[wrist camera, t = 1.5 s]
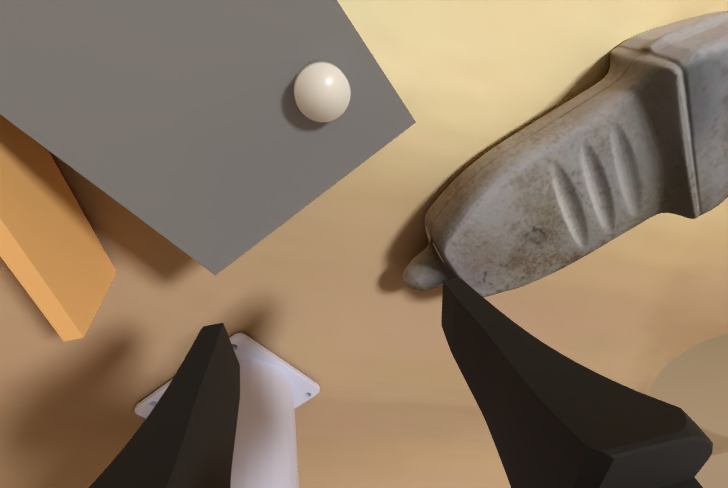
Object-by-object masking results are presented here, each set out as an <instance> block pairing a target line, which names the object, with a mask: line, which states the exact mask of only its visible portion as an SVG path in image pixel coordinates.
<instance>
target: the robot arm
mask: <svg viewBox="0 0 728 488" xmlns="http://www.w3.org/2000/svg"><path fill="white" fill-rule="evenodd" d="M442 328H443V331H444V333H445V336H446V339H447V342H448V344H449V347H450V350H451V352H452V354H453V356H454V358H455V360H456V362H457V364H458V366H459V368H460V370H461V372H462V374H463V376H464V378H465V380H466V382H467V384H468V386H469V388H470V390H471V392H472V394H473V396H474V398H475V400H476V402H477V404H478V406H479V408H480V410H481V412H482V414H483V416H484V418H485V420H486V423H487V425H488V428H489V430H490V433H491V435H492V438H493V440H494V443H495V445H496V448H497V450H498V453H499V456H500V458H501V461H502V464H503V466H504V469H505V472H506V474H507V477H508V480H509V483H510V485H511V488H703V487H702V486H701V485H700V484H699V483H698V481H697V480H696V479H695V478H694V477H695V475H696V474H697V473H698V472H699V470H700V469H701V468H702V466H703V465H704V464H705V463H706V461H707V460H708V459H709V457H710V455H711V454H712V447H713V443H712V442H711V440H710V439H709V438H708V437H707V436H706V435H705V433H704V432H703V431H702V430H701V429H700V428H699V427H698V426H697V424H696V423H695V422H694V421H692V419H691V418H690V417H689V416H688V415H687V414H686V413H685V412H684V411H683V410H682V409H681V408H679V407H676V406H674V405H671V404H668V403H666V402H663V401H661V400H658V399H655V398H653V397H650V396H647V395H645V394H642V393H640V392H637V391H635V390H633V389H630V388H628V387H626V386H624V385H621V384H619V383H617V382H614V381H612V380H610V379H608V378H606V377H604V376H602V375H600V374H598V373H596V372H594V371H592V370H590V369H588V368H586V367H584V366H582V365H580V364H578V363H576V362H575V361H573V360H571V359H569V358H567V357H566V356H564V355H562V354H561V353H559V352H557V351H556V350H554V349H552V348H551V347H549V346H547V345H546V344H544V343H543V342H541V341H540V340H538V339H537V338H535V337H534V336H532V335H531V334H529V333H528V332H527V331H525V330H524V329H522V328H521V327H520V326H518V325H517V324H516V323H514V322H513V321H512V320H510V319H509V318H508V317H507V316H505V315H504V314H503V313H502V312H500V311H499V310H498V309H497V308H495V307H494V306H493V305H492V304H490V303H489V302H488V301H487V300H486V299H485V298H483V297H482V296H481V295H480V294H479V293H478V292H476V291H475V290H474V289H473V288H472V287H471V286H470V285H468V284H467V283H466V282H465V281H464V280H462V279H461V278H459V279H454V280H449V281H443V299H442ZM232 344H235V346H232ZM319 391H320V388H319V385H318V384H317V383H316V382H314V381H313V380H311V379H310V378H308V377H307V376H306V375H304V374H303V373H301V372H300V371H298V370H297V369H295V368H294V367H292V366H291V365H289V364H288V363H286V362H285V361H284V360H282V359H281V358H279V357H278V356H276V355H275V354H273V353H272V352H270V351H269V350H267V349H266V348H264V347H263V346H262V345H260V344H259V343H257V342H256V341H254V340H253V339H251V338H250V337H248V336H247V335H245V334H243V333H237V334H235V335H233V336H231V337H230V338H229V337H228V334H227V332H226V329H225V327H224V324H223V323H220V324H215V325H210V326H204V327H203V328H202V329H201V331H200V332H199V334H198V336H197V338H196V340H195V341H194V343H193V345H192V347H191V349H190V350H189V352H188V354H187V356H186V357H185V359H184V361H183V363H182V364H181V366H180V368H179V369H178V371H177V373H176V374H175V376H174V378H173V379H171V380H170V381H169V382H167V383H166V384H164V385H163V386H162V387H160V388H159V389H157V390H156V391H155V392H153V393H152V394H150V395H149V396H148V397H146V398H145V399H144V400H142V401H141V402H139V403H138V404H137V405H136V407H135V411H134V412H135V413H136V414H137V415H139V416H141V417H143V418H146V419H145V421H144V422H143V424H142V425H141V426H140V428H139V429H138V430H137V432H136V433H135V434H134V436H133V437H132V438H131V439H130V441H129V442H128V443H127V445H126V446H125V447H124V448H123V449H122V451H121V452H120V453H119V454H118V455H117V457H116V458H115V459H114V460H113V461H112V462H111V464H110V465H109V466H108V467H107V468H106V469H105V470H104V472H103V473H102V474H101V475H100V476H99V477H98V478H97V480H96V481H95V482H94V483H93V484H92V485H91V486H90V487H89V488H299V482H298V465H297V447H296V429H295V412H294V409H295V408H296V407H298V406H299V405H301V404H303V403H304V402H306V401H307V400H309V399H310V398H312V397H313V396H315V395H317V394H318V393H319Z"/></svg>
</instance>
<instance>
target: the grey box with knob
mask: <svg viewBox="0 0 728 488" xmlns="http://www.w3.org/2000/svg"><path fill="white" fill-rule="evenodd" d="M0 114H1V115H2V116H3V117H5V118H6V119H7V120H9V121H10V122H11V123H13V124H14V125H15V126H17V127H18V128H19V129H21V130H22V131H23V132H25V133H26V134H27V135H29V136H30V137H31V138H33V139H34V140H35V141H37V142H38V143H39V144H41V145H42V146H43V147H45V148H46V149H47V150H49V151H50V152H51V153H53V154H54V155H55V156H57V157H58V158H59V159H61V160H62V161H63V162H65V163H66V164H67V165H69V166H70V167H71V168H73V169H74V170H75V171H77V172H78V173H79V174H81V175H82V176H83V177H85V178H86V179H87V180H89V181H90V182H91V183H93V184H94V185H95V186H97V187H98V188H99V189H101V190H102V191H103V192H105V193H106V194H107V195H109V196H110V197H111V198H113V199H114V200H115V201H117V202H118V203H119V204H121V205H122V206H123V207H125V208H126V209H127V210H129V211H130V212H131V213H133V214H134V215H135V216H137V217H138V218H139V219H141V220H142V221H143V222H145V223H146V224H147V225H149V226H150V227H151V228H153V229H154V230H155V231H157V232H158V233H159V234H161V235H162V236H163V237H165V238H166V239H167V240H169V241H170V242H171V243H173V244H174V245H175V246H177V247H178V248H179V249H181V250H182V251H183V252H185V253H186V254H187V255H189V256H190V257H191V258H193V259H194V260H195V261H197V262H198V263H199V264H201V265H202V266H203V267H205V268H206V269H207V270H209V271H210V272H211V273H213V274H214V275H216V274H218V273H219V272H220V271H222V270H223V269H224V268H226V267H227V266H228V265H230V264H231V263H232V262H233V261H235V260H236V259H237V258H239V257H240V256H241V255H243V254H244V253H245V252H247V251H248V250H249V249H250V248H252V247H253V246H254V245H256V244H257V243H258V242H260V241H261V240H262V239H264V238H265V237H266V236H267V235H269V234H270V233H271V232H273V231H274V230H275V229H277V228H278V227H279V226H281V225H282V224H283V223H285V222H286V221H287V220H288V219H290V218H291V217H292V216H294V215H295V214H296V213H298V212H299V211H300V210H302V209H303V208H304V207H305V206H307V205H308V204H309V203H311V202H312V201H313V200H315V199H316V198H317V197H319V196H320V195H321V194H322V193H324V192H325V191H326V190H328V189H329V188H330V187H332V186H333V185H334V184H336V183H337V182H338V181H340V180H341V179H342V178H343V177H345V176H346V175H347V174H349V173H350V172H351V171H353V170H354V169H355V168H357V167H358V166H359V165H360V164H362V163H363V162H364V161H366V160H367V159H368V158H370V157H371V156H372V155H374V154H375V153H376V152H378V151H379V150H380V149H381V148H383V147H384V146H385V145H387V144H388V143H389V142H391V141H392V140H393V139H395V138H396V137H397V136H398V135H400V134H401V133H402V132H404V131H405V130H406V129H408V128H409V127H410V126H412V125H413V124H414V123H415V120H414V119H413V117H412V116H411V114H410V112H409V111H408V109H407V108H406V106H405V105H404V103H403V102H402V100H401V99H400V97H399V96H398V94H397V92H396V91H395V89H394V88H393V86H392V85H391V83H390V82H389V80H388V79H387V77H386V75H385V74H384V72H383V71H382V69H381V68H380V66H379V65H378V63H377V62H376V60H375V58H374V57H373V55H372V54H371V52H370V51H369V49H368V48H367V46H366V45H365V43H364V42H363V40H362V38H361V37H360V35H359V34H358V32H357V31H356V29H355V28H354V26H353V25H352V23H351V21H350V20H349V18H348V17H347V15H346V14H345V12H344V11H343V9H342V8H341V6H340V4H339V3H338V1H337V0H0Z"/></svg>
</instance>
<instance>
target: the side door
mask: <svg viewBox="0 0 728 488" xmlns="http://www.w3.org/2000/svg"><path fill="white" fill-rule="evenodd" d="M0 257H1V258H2V259H3V261H4V262H5V263H6V265H7V266H8V267H9V269H10V270H11V271H12V273H13V274H14V275H15V277H16V278H17V279H18V281H19V282H20V283H21V285H22V286H23V287H24V289H25V290H26V291H27V293H28V294H29V295H30V297H31V298H32V299H33V301H34V302H35V303H36V305H37V306H38V308H39V309H40V310H41V312H42V313H43V314H44V316H45V317H46V318H47V320H48V321H49V322H50V324H51V325H52V326H53V328H54V329H55V330H56V332H57V333H58V334H59V336H60V337H61V338H62V340H63V341H69V340H74V339H79V338H84V336H85V334H86V332H87V330H88V328H89V326H90V324H91V322H92V320H93V318H94V316H95V314H96V312H97V310H98V308H99V306H100V304H101V302H102V300H103V299H104V297H105V295H106V293H107V291H108V289H109V287H110V285H111V283H112V281H113V279H114V277H115V275H116V273H117V272H116V270H115V268H114V267H113V265H112V263H111V261H110V260H109V258H108V256H107V254H106V252H105V251H104V249H103V247H102V245H101V243H100V242H99V240H98V238H97V236H96V235H95V233H94V231H93V229H92V227H91V226H90V224H89V222H88V220H87V219H86V217H85V215H84V213H83V211H82V210H81V208H80V206H79V204H78V202H77V201H76V199H75V197H74V195H73V194H72V192H71V190H70V188H69V186H68V185H67V183H66V181H65V179H64V177H63V176H62V174H61V172H60V170H59V169H58V167H57V165H56V163H55V161H54V160H53V158H52V156H51V154H50V153H49V151H48V150H47V149H46V148H45V147H43V146H42V145H41V144H39V143H38V142H37V141H35V140H34V139H33V138H31V137H30V136H29V135H27V134H26V133H25V132H23V131H22V130H21V129H19V128H18V127H17V126H15V125H14V124H13V123H11V122H10V121H9V120H7V119H6V118H5V117H3V116H2V115H1V114H0Z"/></svg>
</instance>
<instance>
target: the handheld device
mask: <svg viewBox="0 0 728 488" xmlns="http://www.w3.org/2000/svg"><path fill="white" fill-rule="evenodd" d="M609 62H610V68H609V72H608V73H607V75H606V76H605V77H604V78H603V79H602V80H601V81H600V82H598V83H597V84H595V85H593V86H592V87H590V88H589V89H587V90H585V91H584V92H582V93H580V94H579V95H577V96H576V97H574V98H572V99H571V100H569V101H567V102H566V103H564V104H563V105H561V106H559V107H558V108H556V109H554V110H553V111H551V112H549V113H548V114H546V115H544V116H543V117H541V118H539V119H538V120H536V121H535V122H533V123H531V124H530V125H528V126H527V127H525V128H524V129H522V130H520V131H519V132H517V133H515V134H514V135H512V136H511V137H509V138H507V139H506V140H504V141H503V142H501V143H500V144H498V145H497V146H495V147H494V148H492V149H491V150H489V151H488V152H487V153H485V154H484V155H483V156H481V157H480V158H479V159H477V160H476V161H475V162H474V163H473V164H471V165H470V166H469V167H468V168H467V169H465V170H464V171H463V172H462V173H461V174H460V175H459V176H458V177H457V178H456V179H455V180H454V181H453V182H452V183H451V184H450V185H449V186H448V187H447V188H446V189H445V190H444V191H443V192H442V193H441V195H440V196H439V197H438V198H437V199H436V200H435V202H434V203H433V204H432V205H431V206H430V208H429V209H428V211H427V212H426V214H425V230H426V233H427V236H428V240H429V245H428V247H427V248H425V249H424V250H423V251H422V252H420V253H419V254H418V255H416V256H415V257H414V258H413V259H412V260H411V261H410V262H409V263H408V265H407V266H406V267H405V269H404V272H403V281H404V283H405V284H406V285H407V286H408V287H410V288H412V289H416V290H420V291H423V290H429V289H432V288H435V287H438V286H442V285H443V281H449V280H454V279H459V278H461V279H462V280H464V281H465V282H466V283H467V284H468V285H470V286H471V287H472V288H473V289H474V290H475V291H476V292H478V293H479V294H480V295H481V296H482V297H487V296H490V295H494V294H498V293H501V292H504V291H508V290H512V289H516V288H519V287H522V286H524V285H527V284H529V283H531V282H534V281H536V280H538V279H541V278H543V277H545V276H547V275H550V274H552V273H554V272H556V271H558V270H560V269H562V268H564V267H566V266H568V265H569V264H571V263H573V262H575V261H577V260H578V259H580V258H582V257H584V256H586V255H587V254H589V253H591V252H593V251H594V250H596V249H598V248H599V247H601V246H603V245H604V244H606V243H608V242H609V241H611V240H613V239H615V238H616V237H618V236H620V235H621V234H623V233H625V232H626V231H628V230H630V229H632V228H633V227H635V226H637V225H638V224H640V223H642V222H643V221H645V220H647V219H648V218H650V217H652V216H654V215H656V214H659V213H673V214H677V215H681V216H684V217H686V218H691V219H694V218H697V217H698V216H700V215H702V214H704V213H706V212H708V211H710V210H712V209H713V208H715V207H716V206H718V205H719V204H720V203H722V202H723V201H724V200H725V199H726V198H727V197H728V11H723V12H713V13H709V14H705V15H700V16H697V17H693V18H689V19H685V20H681V21H678V22H674V23H671V24H668V25H665V26H661V27H658V28H655V29H652V30H649V31H646V32H643V33H640V34H638V35H636V36H633V37H631V38H629V39H627V40H626V41H624V42H623V43H621V44H620V45H618V46H617V47H616V48H615V49H613V50H612V51H611V52H610V57H609Z"/></svg>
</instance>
